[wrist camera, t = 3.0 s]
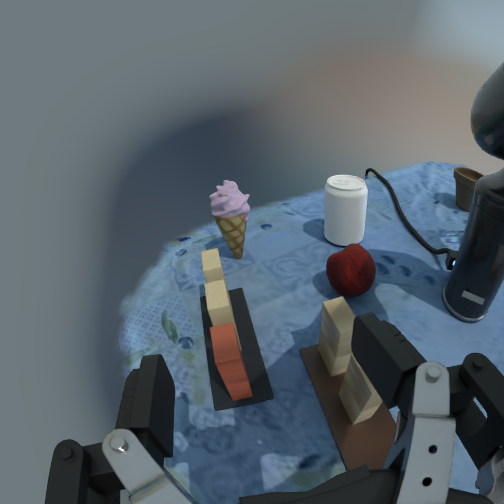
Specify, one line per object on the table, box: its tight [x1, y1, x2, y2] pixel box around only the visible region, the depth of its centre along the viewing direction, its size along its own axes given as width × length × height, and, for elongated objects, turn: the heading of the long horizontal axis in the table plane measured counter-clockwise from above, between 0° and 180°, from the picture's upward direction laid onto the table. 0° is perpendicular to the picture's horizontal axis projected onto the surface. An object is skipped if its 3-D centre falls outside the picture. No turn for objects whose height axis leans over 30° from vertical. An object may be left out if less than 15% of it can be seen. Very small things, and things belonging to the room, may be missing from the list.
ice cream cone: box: [209, 180, 250, 259], centre depth 48 cm, size 7×6×15 cm
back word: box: [200, 248, 274, 411], centre depth 33 cm, size 20×7×9 cm, turn 12°
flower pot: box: [454, 167, 484, 211], centre depth 55 cm, size 12×11×10 cm
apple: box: [326, 243, 376, 297], centre depth 39 cm, size 7×8×8 cm
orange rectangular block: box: [210, 322, 253, 401], centre depth 28 cm, size 4×2×9 cm, turn 12°
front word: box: [300, 296, 396, 471], centre depth 23 cm, size 20×7×9 cm, turn 12°
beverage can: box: [324, 175, 368, 246], centre depth 50 cm, size 8×8×12 cm
